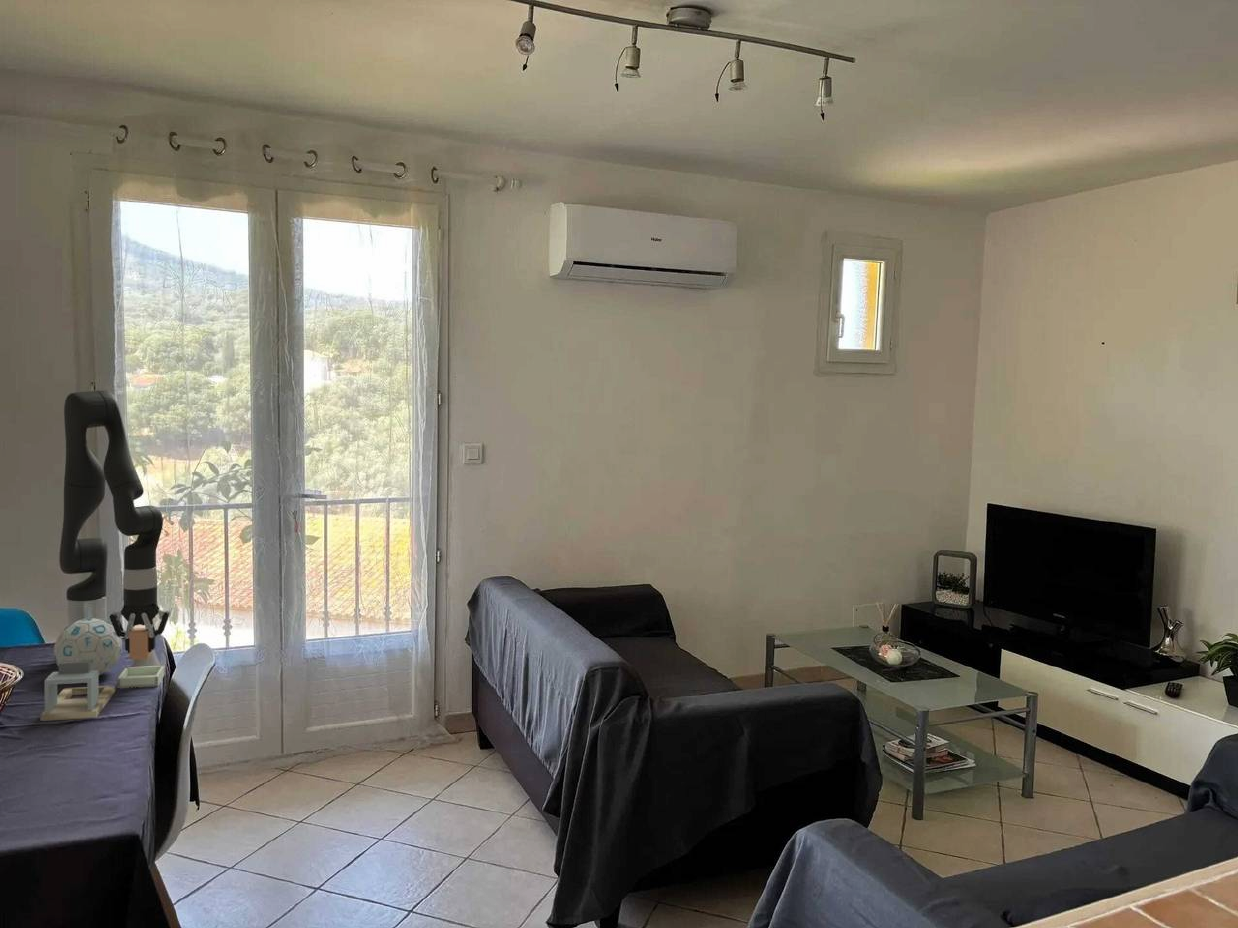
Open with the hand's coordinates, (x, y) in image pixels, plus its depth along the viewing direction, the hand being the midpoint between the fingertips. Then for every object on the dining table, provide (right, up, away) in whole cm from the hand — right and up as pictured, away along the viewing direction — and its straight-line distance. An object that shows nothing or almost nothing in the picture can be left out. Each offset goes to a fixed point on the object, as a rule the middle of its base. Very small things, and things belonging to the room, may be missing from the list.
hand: (140, 651), depth 221 cm
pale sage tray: (0, -8, +1) cm, 8 cm away
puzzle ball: (-15, -7, +3) cm, 17 cm away
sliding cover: (-3, -8, -22) cm, 24 cm away
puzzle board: (-5, -9, -16) cm, 20 cm away
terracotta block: (0, -1, 0) cm, 2 cm away
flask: (-4, -7, +10) cm, 13 cm away
